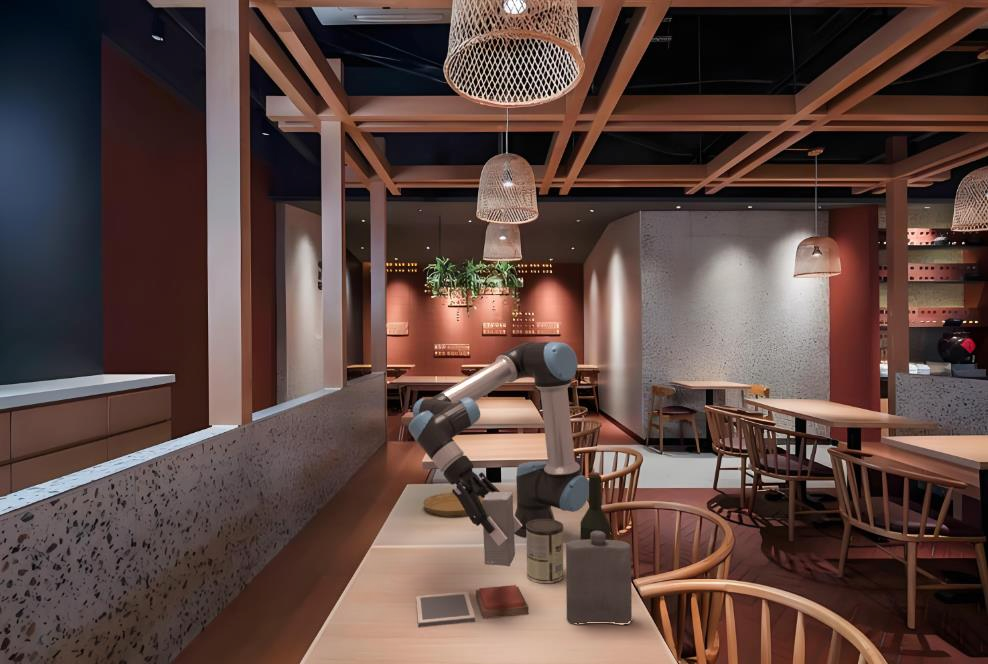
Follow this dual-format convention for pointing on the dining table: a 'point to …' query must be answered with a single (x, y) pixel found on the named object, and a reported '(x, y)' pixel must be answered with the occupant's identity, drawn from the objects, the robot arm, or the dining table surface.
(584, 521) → the wine bottle
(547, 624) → the dining table surface
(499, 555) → the skincare box
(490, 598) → the ink pad
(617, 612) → the flask
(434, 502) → the plant saucer
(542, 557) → the coffee can
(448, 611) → the marked board
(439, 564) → the dining table surface
